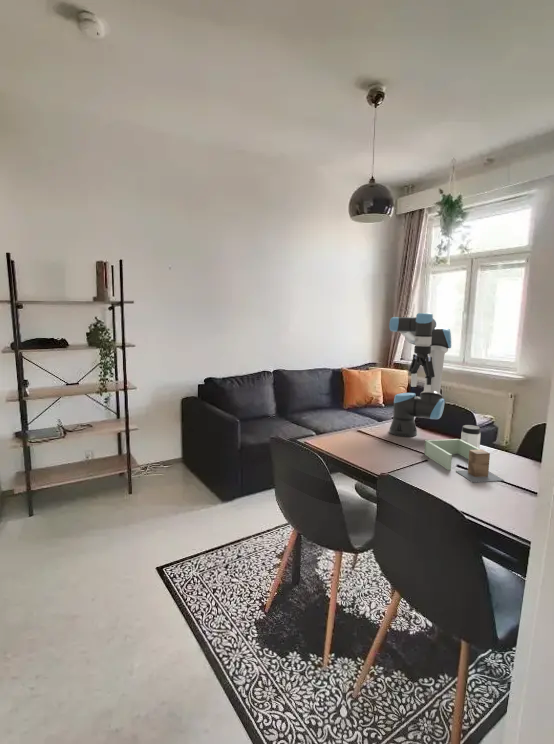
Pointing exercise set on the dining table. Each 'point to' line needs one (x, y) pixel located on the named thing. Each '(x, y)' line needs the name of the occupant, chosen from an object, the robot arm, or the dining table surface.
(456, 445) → the u-shaped enclosure
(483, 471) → the block
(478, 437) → the jar
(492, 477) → the mat
